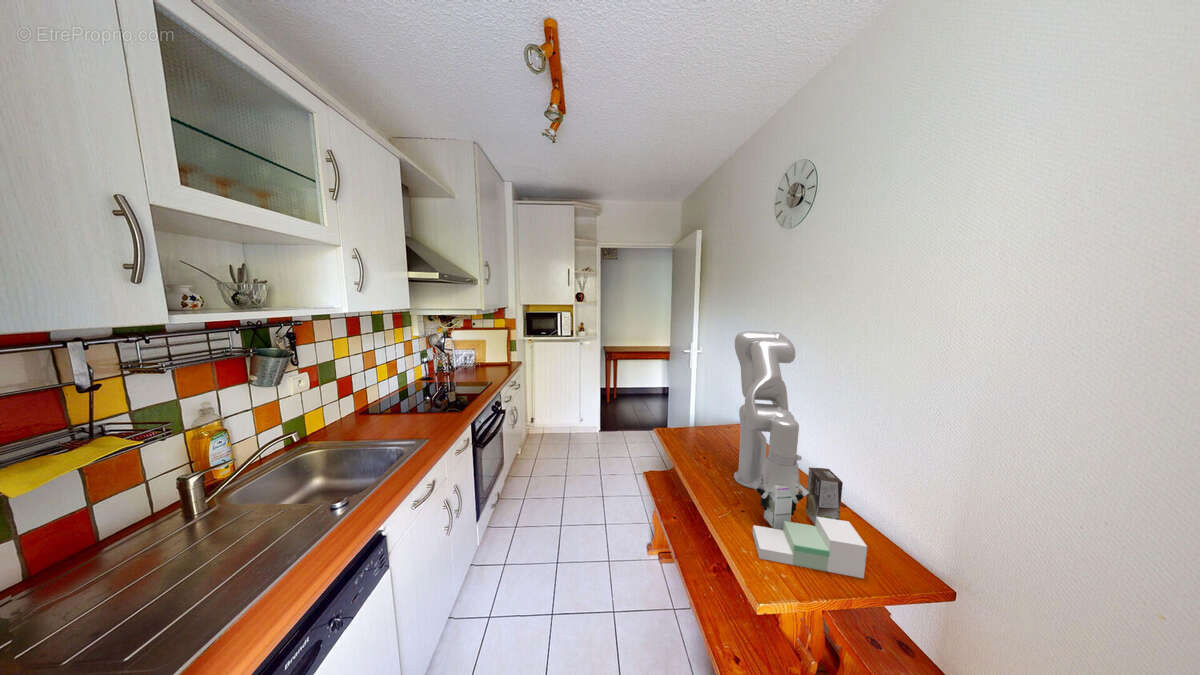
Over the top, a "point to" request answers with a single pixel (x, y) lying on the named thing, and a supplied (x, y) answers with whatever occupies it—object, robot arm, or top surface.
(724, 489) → the top surface
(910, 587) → the top surface
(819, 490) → the coffee box
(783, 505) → the syrup box
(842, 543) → the stepped riser
